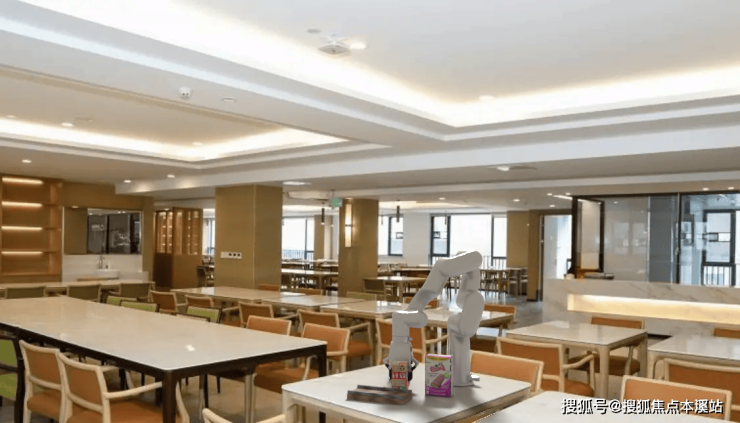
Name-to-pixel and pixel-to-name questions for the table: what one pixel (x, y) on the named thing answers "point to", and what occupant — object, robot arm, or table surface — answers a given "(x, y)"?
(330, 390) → the table surface
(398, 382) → the stack of blocks
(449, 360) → the candy bar box
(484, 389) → the table surface
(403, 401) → the channel board
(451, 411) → the table surface
